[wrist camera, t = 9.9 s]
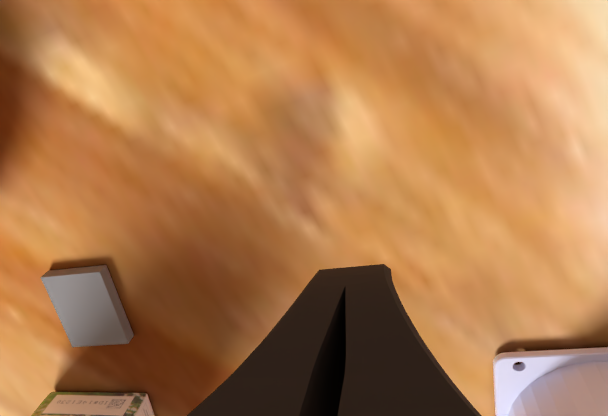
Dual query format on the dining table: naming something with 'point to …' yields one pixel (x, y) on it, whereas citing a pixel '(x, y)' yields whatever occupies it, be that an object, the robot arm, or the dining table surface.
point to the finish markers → (88, 306)
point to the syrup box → (95, 404)
